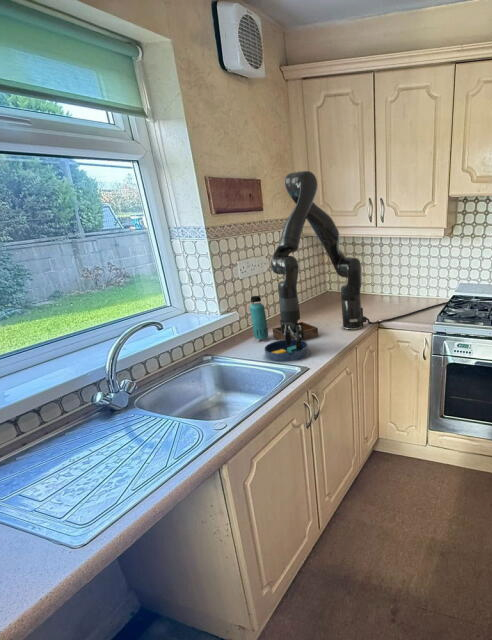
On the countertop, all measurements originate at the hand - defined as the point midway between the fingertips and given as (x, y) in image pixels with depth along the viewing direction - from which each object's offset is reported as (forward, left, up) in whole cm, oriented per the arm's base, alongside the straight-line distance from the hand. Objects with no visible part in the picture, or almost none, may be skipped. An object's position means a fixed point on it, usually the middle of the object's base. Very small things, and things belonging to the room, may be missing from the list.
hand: (293, 346), depth 168 cm
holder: (-11, -17, -3) cm, 20 cm away
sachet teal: (0, 0, -2) cm, 2 cm away
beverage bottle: (+2, -25, -3) cm, 25 cm away
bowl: (+3, 0, -3) cm, 4 cm away
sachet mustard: (+7, 0, -2) cm, 7 cm away
